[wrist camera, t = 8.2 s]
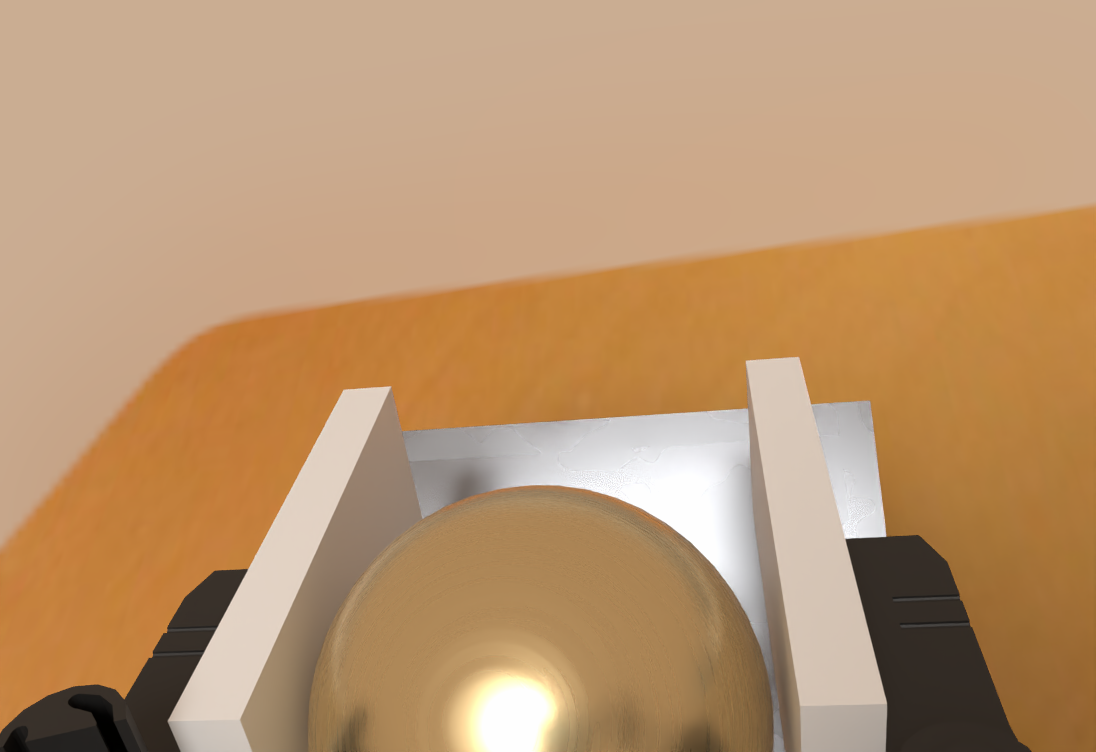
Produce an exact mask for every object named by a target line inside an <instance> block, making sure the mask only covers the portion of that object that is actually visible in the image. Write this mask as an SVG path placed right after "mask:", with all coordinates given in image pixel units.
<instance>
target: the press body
mask: <svg viewBox="0 0 1096 752" xmlns="http://www.w3.org/2000/svg"><path fill="white" fill-rule="evenodd" d="M811 406H812V410H813V414H814V418H815V422H816V426H817V430H818V434H819V438H820V442H821V446H822V450H823V454H824V458H825V461H826V465H827V469H828V473H829V477H830V481H831V485H832V489H833V493H834V497H835V501H836V505H837V509H838V513H839V517H840V520H841V524H842V528H843V532H844V536H845V539H849V538H870V537H886V529H885V520H884V512H883V504H882V495H881V487H880V479H879V470H878V462H877V454H876V445H875V437H874V429H873V420H872V412H871V404H870V401H856V402H841V403H826V404H811ZM402 434H403V439H404V443H405V447H406V451H407V456H408V460H409V464H410V468H411V472H412V477H413V481H414V485H415V489H416V493H417V498H418V502H419V506H420V510H421V515H422V519H424V518H425V517H427V516H429V515H431V514H433V513H434V512H436V511H438V510H440V509H442V508H443V507H445V506H448V505H450V504H453V503H455V502H458V501H460V500H463V499H465V498H468V497H470V496H474V495H478V494H482V493H486V492H489V491H493V490H497V489H503V488H511V487H520V486H528V485H560V486H567V487H574V488H581V489H587V490H591V491H595V492H598V493H602V494H605V495H609V496H613V497H616V498H618V499H620V500H623V501H625V502H627V503H630V504H632V505H634V506H637V507H639V508H641V509H643V510H645V511H646V512H648V513H650V514H652V515H653V516H655V517H657V518H658V519H660V520H662V521H663V522H665V523H667V524H668V525H669V526H671V527H672V528H673V529H674V530H676V531H677V532H678V533H680V534H681V535H682V536H683V537H685V538H686V539H687V540H689V541H690V542H691V543H692V544H693V545H694V546H695V547H696V548H697V549H698V550H699V551H700V552H701V553H702V554H703V555H704V556H705V557H706V558H707V559H708V560H709V561H710V562H711V563H712V564H713V565H714V567H715V568H716V569H717V570H718V572H719V573H720V574H721V576H722V577H723V578H724V580H725V581H726V582H727V584H728V585H729V586H730V588H731V589H732V590H733V592H734V594H735V596H736V597H737V599H738V601H739V602H740V604H741V606H742V608H743V609H744V611H745V613H746V614H747V616H748V619H749V621H750V623H751V626H752V628H753V630H754V633H755V635H756V637H757V640H758V642H759V645H760V648H761V651H762V655H763V658H764V662H765V666H766V669H767V673H768V676H769V683H770V690H771V696H772V703H773V720H774V745H773V752H785V747H784V740H783V733H782V725H781V718H780V710H779V703H778V695H777V688H776V680H775V673H774V665H773V658H772V651H771V643H770V636H769V628H768V621H767V613H766V606H765V598H764V591H763V584H762V576H761V569H760V561H759V554H758V546H757V539H756V531H755V524H754V516H753V504H752V483H751V461H750V440H749V419H748V409H735V410H720V411H704V412H689V413H674V414H659V415H644V416H628V417H613V418H598V419H583V420H568V421H552V422H537V423H522V424H507V425H492V426H476V427H461V428H446V429H431V430H416V431H402Z"/></svg>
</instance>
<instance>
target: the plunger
mask: <svg viewBox="0 0 1096 752" xmlns="http://www.w3.org/2000/svg"><path fill="white" fill-rule="evenodd" d="M773 745H774V720H773V703H772V696H771V690H770V683H769V676H768V673H767V669H766V666H765V662H764V658H763V655H762V651H761V648H760V645H759V642H758V640H757V637H756V635H755V633H754V630H753V628H752V626H751V623H750V621H749V619H748V616H747V614H746V613H745V611H744V609H743V608H742V606H741V604H740V602H739V601H738V599H737V597H736V596H735V594H734V592H733V590H732V589H731V588H730V586H729V585H728V584H727V582H726V581H725V580H724V578H723V577H722V576H721V574H720V573H719V572H718V570H717V569H716V568H715V567H714V565H713V564H712V563H711V562H710V561H709V560H708V559H707V558H706V557H705V556H704V555H703V554H702V553H701V552H700V551H699V550H698V549H697V548H696V547H695V546H694V545H693V544H692V543H691V542H690V541H689V540H687V539H686V538H685V537H683V536H682V535H681V534H680V533H678V532H677V531H676V530H674V529H673V528H672V527H671V526H669V525H668V524H667V523H665V522H663V521H662V520H660V519H658V518H657V517H655V516H653V515H652V514H650V513H648V512H646V511H645V510H643V509H641V508H639V507H637V506H634V505H632V504H630V503H627V502H625V501H623V500H620V499H618V498H616V497H613V496H609V495H605V494H602V493H598V492H595V491H591V490H587V489H581V488H574V487H567V486H560V485H528V486H520V487H511V488H503V489H497V490H493V491H489V492H486V493H482V494H478V495H474V496H470V497H468V498H465V499H463V500H460V501H458V502H455V503H453V504H450V505H448V506H445V507H443V508H442V509H440V510H438V511H436V512H434V513H433V514H431V515H429V516H427V517H425V518H424V519H422V520H420V521H419V522H417V523H416V524H415V525H413V526H412V527H410V528H409V529H408V530H406V531H405V532H404V533H402V534H401V535H400V536H398V537H397V538H396V539H395V540H394V541H393V542H392V543H391V544H389V545H388V546H387V547H386V548H385V549H384V550H383V551H382V552H381V553H380V554H379V555H378V556H377V557H376V558H375V559H374V560H373V561H372V563H371V564H370V565H369V566H368V568H367V569H366V570H365V571H364V572H363V574H362V575H361V576H360V577H359V579H358V580H357V581H356V582H355V584H354V586H353V587H352V589H351V590H350V592H349V593H348V595H347V597H346V598H345V600H344V601H343V603H342V604H341V606H340V607H339V609H338V611H337V614H336V616H335V618H334V620H333V622H332V624H331V626H330V628H329V630H328V632H327V634H326V637H325V640H324V643H323V646H322V649H321V652H320V655H319V658H318V661H317V664H316V669H315V673H314V678H313V682H312V687H311V692H310V702H309V712H308V752H773Z"/></svg>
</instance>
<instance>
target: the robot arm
mask: <svg viewBox="0 0 1096 752" xmlns="http://www.w3.org/2000/svg"><path fill="white" fill-rule="evenodd" d="M746 376H747V398H748V419H749V440H750V461H751V483H752V504H753V516H754V524H755V531H756V539H757V546H758V554H759V561H760V569H761V576H762V584H763V591H764V598H765V606H766V613H767V621H768V628H769V636H770V643H771V651H772V658H773V665H774V673H775V680H776V688H777V695H778V703H779V710H780V718H781V725H782V733H783V740H784V747H785V752H1031V750H1030V749H1029V748H1028V747H1026V746H1025V745H1023V744H1022V743H1020V742H1019V741H1018V740H1017V738H1016V736H1015V735H1014V733H1013V731H1012V729H1011V727H1010V725H1009V723H1008V721H1007V718H1006V715H1005V713H1004V710H1003V707H1002V705H1001V702H1000V699H999V697H998V694H997V692H996V689H995V686H994V684H993V681H992V678H991V676H990V673H989V671H988V668H987V665H986V663H985V660H984V657H983V655H982V652H981V650H980V647H979V644H978V642H977V639H976V636H975V634H974V631H973V629H972V627H970V623H969V618H968V615H967V613H966V610H965V607H964V605H963V602H962V601H960V597H959V592H958V589H957V586H956V584H955V581H954V579H953V576H952V573H951V571H950V568H949V565H948V563H947V561H945V560H944V559H943V558H942V557H941V556H940V555H939V554H938V553H937V552H936V551H935V550H934V549H933V548H932V547H931V546H930V545H929V544H928V543H926V542H925V541H924V540H923V539H922V538H921V537H920V536H919V535H913V536H892V537H870V538H849V539H845V536H844V532H843V528H842V524H841V520H840V517H839V513H838V509H837V505H836V501H835V497H834V493H833V489H832V485H831V481H830V477H829V473H828V469H827V465H826V461H825V458H824V454H823V450H822V446H821V442H820V438H819V434H818V430H817V426H816V422H815V418H814V414H813V410H812V406H811V402H810V399H809V395H808V391H807V387H806V383H805V379H804V375H803V371H802V367H801V363H800V359H799V357H790V358H777V359H763V360H749V361H746ZM420 520H422V515H421V510H420V506H419V502H418V498H417V493H416V489H415V485H414V481H413V477H412V472H411V468H410V464H409V460H408V456H407V451H406V447H405V443H404V439H403V434H402V430H401V426H400V422H399V418H398V413H397V409H396V405H395V401H394V396H393V392H392V388H391V386H390V387H376V388H362V389H349V390H343V392H342V394H341V396H340V398H339V400H338V402H337V404H336V405H335V407H334V409H333V411H332V413H331V415H330V417H329V419H328V420H327V422H326V424H325V426H324V428H323V430H322V432H321V434H320V436H319V437H318V439H317V441H316V443H315V445H314V447H313V449H312V451H311V452H310V454H309V456H308V458H307V460H306V462H305V464H304V466H303V468H302V469H301V471H300V473H299V475H298V477H297V479H296V481H295V483H294V484H293V486H292V488H291V490H290V492H289V494H288V496H287V498H286V500H285V501H284V503H283V505H282V507H281V509H280V511H279V513H278V515H277V516H276V518H275V520H274V522H273V524H272V526H271V528H270V530H269V531H268V533H267V535H266V537H265V539H264V541H263V543H262V545H261V547H260V548H259V550H258V552H257V554H256V556H255V558H254V560H253V562H252V563H251V565H250V567H249V569H242V570H221V571H214V572H213V573H212V574H211V575H210V576H208V577H207V578H206V579H205V580H204V581H203V582H202V583H201V584H199V585H198V586H197V587H196V588H195V589H194V590H193V591H192V592H191V593H189V594H188V595H187V596H186V597H185V598H184V600H183V602H182V603H181V605H180V607H179V608H178V610H177V612H176V613H175V615H174V617H173V618H172V620H171V622H170V623H169V625H168V627H167V629H168V630H167V633H164V634H163V635H162V637H161V639H160V640H159V642H158V644H157V645H156V647H155V649H154V650H153V657H152V658H149V659H148V661H147V662H146V664H145V666H144V667H143V669H142V671H141V672H140V674H139V676H138V677H137V679H136V681H135V683H134V684H133V686H132V688H131V689H130V691H129V693H128V694H127V696H126V698H125V699H123V698H122V697H121V696H120V694H119V693H118V692H117V691H116V690H115V689H111V688H108V687H104V686H101V685H86V686H75V687H71V688H68V689H65V690H63V691H60V692H57V693H54V694H51V695H48V696H46V697H45V698H43V699H41V700H40V701H38V702H36V703H35V704H33V705H31V706H30V707H28V708H26V709H25V710H23V711H22V712H21V713H20V714H19V715H18V716H17V717H16V718H15V719H13V720H12V721H11V722H10V723H9V724H8V725H7V726H6V727H5V728H4V729H3V730H2V732H1V733H0V752H308V712H309V702H310V692H311V687H312V682H313V678H314V673H315V669H316V664H317V661H318V658H319V655H320V652H321V649H322V646H323V643H324V640H325V637H326V634H327V632H328V630H329V628H330V626H331V624H332V622H333V620H334V618H335V616H336V614H337V611H338V609H339V607H340V606H341V604H342V603H343V601H344V600H345V598H346V597H347V595H348V593H349V592H350V590H351V589H352V587H353V586H354V584H355V582H356V581H357V580H358V579H359V577H360V576H361V575H362V574H363V572H364V571H365V570H366V569H367V568H368V566H369V565H370V564H371V563H372V561H373V560H374V559H375V558H376V557H377V556H378V555H379V554H380V553H381V552H382V551H383V550H384V549H385V548H386V547H387V546H388V545H389V544H391V543H392V542H393V541H394V540H395V539H396V538H397V537H398V536H400V535H401V534H402V533H404V532H405V531H406V530H408V529H409V528H410V527H412V526H413V525H415V524H416V523H417V522H419V521H420Z"/></svg>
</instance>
